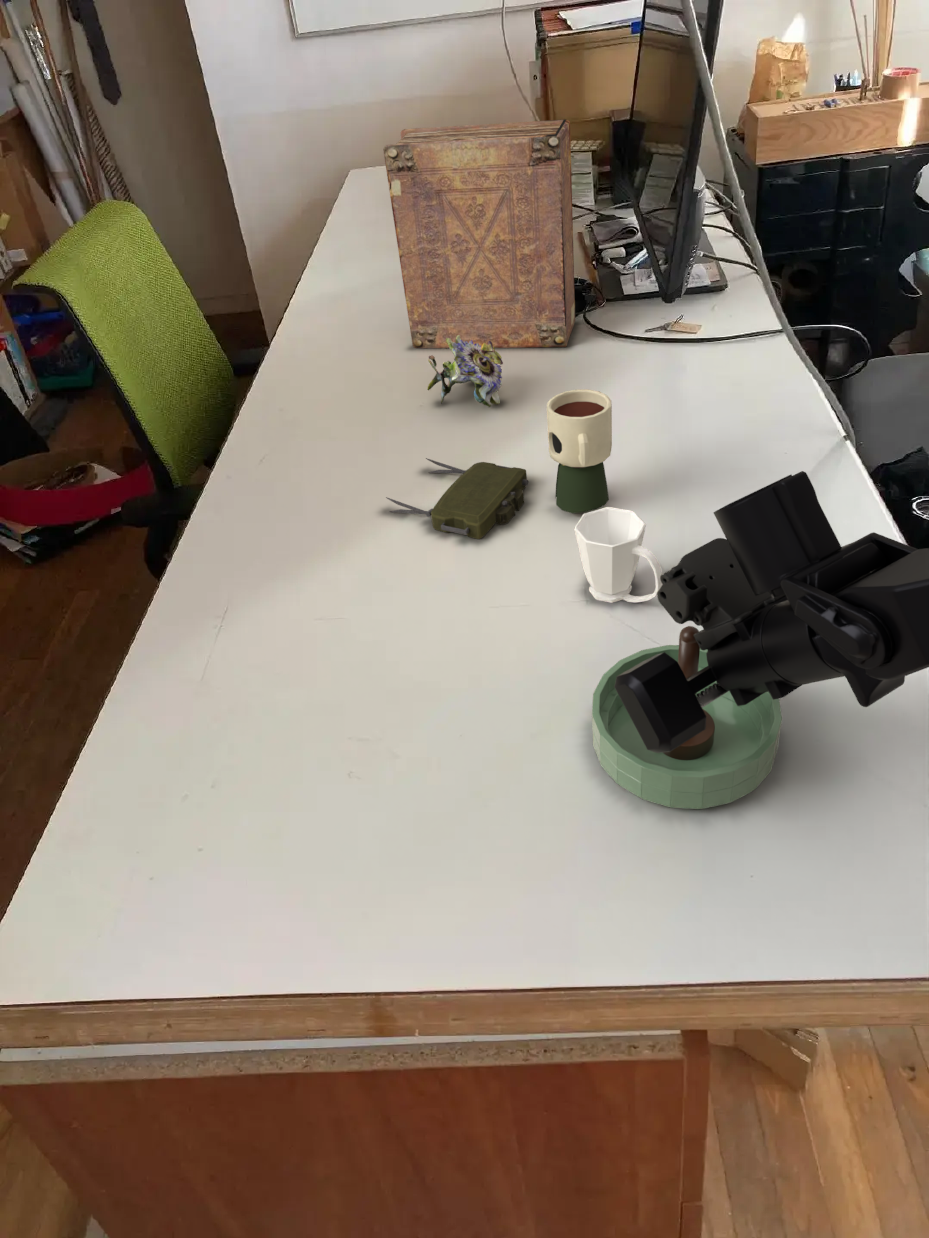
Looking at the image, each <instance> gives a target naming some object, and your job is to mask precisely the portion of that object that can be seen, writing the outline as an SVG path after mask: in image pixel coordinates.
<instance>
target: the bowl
mask: <svg viewBox="0 0 929 1238" xmlns="http://www.w3.org/2000/svg"><path fill="white" fill-rule="evenodd" d="M707 651H708V650H707V649H706V650H701V649H700V652H699V666H698V671H700V670H702V669H703V668H705V667H707V666H708V663H707V656H706V653H707ZM664 652H665V653H666V654H668V655H669V656H670V657H672V658H673V659H674V660H676V661H677V662H678V653H679V644H666V645H662V646H656V647H650V648H646V649H642V650H639V651H637V652H635V653H632V654H630V655H628V656H626V657H624V658H621V659H620V660H618V661H617V662H616V663H615V664H614V665H613V666H611V667H610V668H609V669H608V670H607V671H606V672H604V674H603V675H602V676H601V678H600V680H599V682H598V684H597V685H596V688H594V689H595V690H594V691H593V693H592V706H591V707H592V709H591V717H592V718H591V721H592V723H591V724H592V725H591V727H592V746H593V748H594V752H595V754H596V756H597V757H596V758H597V760H598V762H599V765H600V766H601V768H602V769H603V770H604V771H605V772H606V774H608V776H609V777H610V778H611V779H612V780H613V781H614V782H615V783H616V784H617V785H618V786H620V787H621V788H623V789H625V790H626V791H628V792H629V793H631V794H633V795H634V796H636V797H637V798H639V799H641V800H644V801H647V802H650V803H654V804H657V805H661V806H664V807H667V808H671V809H691V810H705V809H708V808H713V807H718V806H722V805H727V804H731V803H734V802H736V801H737V800H739V799H741V798H743V797H745V796H746V795H749V794H751V793H752V792H754V791H755V790H756V789H757V788H759V786H760V785H761V783H762V782H763V781H765V779H766V778H767V777H768V776H769V774H770V773H772V769H773V766H774V764H775V763H774V762H775V760H776V756H777V753H778V748H779V742H780V735H781V730H782V724H783V723H782V722H783V714H782V710H781V709H782V708H781V704H780V703H781V702H780V698H779V699H774V700H773V698H772V696H771V695H770V693H769V692H765V693H763V694H762V695H760V696H759V697H757V698H756V699H754V700H752V701H751V702H749V703H748V704H746V705H742V706H737V704H736V702H735V701H734V699H733V697H732V695H731V693H730V691H728V692H727V693H725V694H724V695H722V696H720V697H719V698H717V699H716V700H714V701H712V702H711V703H709V704H708V705H706V706H704V707H703V708H702V709H704V710H705V711H707V712H708V713H709V714H710V715H711V717H712V718H713V721H714V724H715V731H714V741H713V746H712V748H711V749H710V751H709V752H708V753H707V754H705V755H704V756H702V757H700V758H697V759H693V760H678V759H674V758H671V757H669V756H667V755H665V754H664V753H655V752H652V751H649V750H647V748H646V746H645V744H644V742H643V740H642V738H641V737H640V735H639V733H638V731H637V729H636V727H635V725H634V723H633V721H632V720H631V718H630V716H629V714H628V712H627V710H626V708H625V706H624V704H623V703H622V701H621V699H620V697H619V695H618V693H617V691H616V689H615V687H614V686H615V681H616V677H617V676H618V675H620V674H622V673H624V672H625V671H627V670H629V669H631V668H632V667H634V666H636V665H637V664H639V663H641V662H643V661H644V660H647V659H649V658H651V657H653V656H655V655H657V654H660V653H664ZM716 682H717V681H715V682H713V683H712V684H714V683H716ZM712 684H710V685H709V686H713V685H712ZM716 684H717V683H716ZM709 686H707V687H705V688H708V689H709ZM705 688H704V689H702V690H700V691H699V692H697V693H701V691H703V690H704V691H705ZM697 693H696V696H697Z"/></svg>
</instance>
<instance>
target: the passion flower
mask: <svg viewBox="0 0 929 1238" xmlns="http://www.w3.org/2000/svg"><path fill="white" fill-rule="evenodd" d="M455 341H456V343H455V342H452V341H451V339H450V338H446V342H447V344H448V346H449V348H448V349H450V351H451V352H452V354H453V356H454V357H453V362H452V361H450V360H447V361H443V362H442V368H443V369H442V371H438V369H437V368H436V367H437V361H436V359H435V356H434V355H433V354H432V355H429V356H428V363H430V366H431V367H432V369H433V370H434V371H435V375H434V377H433V378H432V379H431V381H430V382H429V383H428V385H427V390H428V391H430V390H431V389H432V388H433V387H434V386H435V385H436V384H438V383H439V382H441V391H440V404H441V405H442V404H443V402H444V400H445V397H446V396H447V395H448V394H450V393H451V392H452V388H453V386H455V384H465V383H467V382H471V383H472V384H473V385H474V391H473V398H474V400H475V401H476V402H478V403H479V404H482V405H484V406H486V407H488V408H491V407H492V405H495V406H496V405H497V406H498V405H500V403H501V401H500V396H499V393H498V391H499V390H500V389H501V386H502V385H503V382H502V380H501V379H503V376H502V373H503V372H502V371H503V369H502V365H504V362H503V360H502V356H501V355H500V353H499V352H498V351H496V350H495V349H496V348H494V347H493V345H492V342H491V341H488V345H486V344H485V343H483V344H482V346H480V345H479V344H478V343H477V344H473V342H472V340H471V341H469V343H468V342H466V341H465V342H463V341H462V340H461V339H460V335H458V336H457V337H456V340H455ZM445 379H448V382H447V383H446V381H445Z"/></svg>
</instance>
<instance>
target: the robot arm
mask: <svg viewBox="0 0 929 1238" xmlns="http://www.w3.org/2000/svg"><path fill="white" fill-rule="evenodd" d="M818 499H819V498H818V496H817V493H816V489H815V488H814V485H813V482H812V481H811V479H810V478H809V476H808V474H807V472H806V471H803V470H801V471H799V472H797V473H795V474H789V475H787V476H784V477H782V478H780V479H778V480H776V481H774V482H772V483H769V484H768V485H766V486H764V487H761V488H759V489H758V490H755V491H752V492H750V493H749V494H747V495H745V496H742V497H741V498H738V499H737V500H734V501H732V502H730V503H728V504H726V505H724V506H722V507H720V508H719V509H717V510H715V511H713V512H712V513H713V515H714V518H715V519H716V521H717V523H718V525H719V527H720V529H721V531H722V533H723V535H724V537H725V538H724V537H717V538H714V539H712V540H711V541H708V542H706V543H704V544H703V545H701V546H699V547H697V548H695V549H694V550H692V551H690V552H687V553H686V554H685V555H683V556H682V557H681V559H680V560H679V562H678V564H677V565H675V566H673V567H671V569H670V570H668V571H666V572H665V573H662V575H661V576H660V580H661V583H662V584H663V585H662V586H661V588H660V589H659V591H658V593H657V595H656V597H657V600H658V603H659V604H660V605H661V606H662V608H663V609H664V610H665V611H666V612H667V614H668V615H669V616H670V617H671V619H672V620H673V621H674V622H675V623H677V624H679V625H684V624H685V623H688V622H693V623H694V624H695V626H698V627H699V626H701V627H702V629H701V630H699V632H698V633H696V634H694V635H693V636H694V637H695V639H696V641H697V643H698V645H699V647H700V649H701V650H706V649H707V650H708V651H707V653H706V656H707V663H708V666H707V667H705V668H703V669H702V670H700V671H698V672H697V673H695V674H693V675H692V676H690V677H688V678H687V679H686V677H685V675H684V673H683V671H682V670H681V668H680V666H679V664H678V662H677V661H676V660H674V659H673V658H672V657H670V656H669V655H668V654H666V653H665V652H664V653H660V654H657V655H655V656H653V657H651V658H649V659H647V660H644V661H643V662H641V663H639V664H637V665H636V666H634V667H632V668H631V669H629V670H627V671H625V672H624V673H622V674H620V675H618V676H617V677H616V681H615V686H614V687H615V689H616V691H617V693H618V695H619V697H620V699H621V701H622V703H623V704H624V706H625V708H626V710H627V712H628V714H629V716H630V718H631V720H632V721H633V723H634V725H635V727H636V729H637V731H638V733H639V735H640V737H641V738H642V740H643V742H644V744H645V746H646V748H647V750H649V751H652V752H655V753H662V752H670V751H672V750H674V749H675V748H677V747H678V746H680V745H681V744H683V743H685V742H686V741H688V740H689V739H691V738H692V737H694V736H696V735H697V734H699V733H700V732H702V731H703V730H705V728H706V715H705V713H704V711H703V709H702V708H703V707H704V706H706V705H708V704H709V703H711V702H712V701H714V700H716V699H717V698H719V697H720V696H722V695H724V694H725V693H727V692H728V691H730V693H731V695H732V697H733V699H734V701H735V702H736V704H737V706H742V705H746V704H748V703H749V702H751V701H752V700H754V699H756V698H757V697H759V696H760V695H762V694H763V693H765V692H769V693H770V695H771V696H772V698H773V700H774V699H779V700H780V699H784V698H785V697H786V696H788V695H790V694H791V693H792V692H794V691H796V690H797V689H799V688H801V687H802V686H803V685H804V686H805V685H808V684H813V683H818V682H823V681H829V680H833V679H838V678H843V677H845V679H846V681H847V683H848V684H849V686H850V689H851V690H852V693H853V695H854V697H855V698H856V700H857V702H858V704H859V705H860V706H861V707H863V708H867V707H870V706H872V705H873V704H875V703H876V702H878V701H879V700H881V699H882V698H884V697H886V696H887V695H889V694H891V693H892V692H893V691H895V690H896V689H898V688H900V687H901V686H903V685H904V684H905V679H906V677H907V676H909V675H912V674H914V673H917V672H919V671H922V670H925V669H927V668H929V547H926V548H919V549H918V548H916V547H913V546H911V545H908V544H906V543H902V542H900V541H897V540H895V539H892V538H890V537H887V536H884V535H882V534H879V533H876V532H869V533H868V534H866V535H865V536H862V537H860V538H858V539H856V540H855V541H852V542H850V543H847V544H845V545H841V543H840V542H839V539H838V537H837V536H836V533H835V531H834V530H833V527H832V525H831V523H830V521H829V519H828V518H827V516H826V514H825V512H824V510H823V508H822V506H821V504H820V502H819V500H818ZM715 681H717V682H716V683H717V684H716V683H714V684H712V683H713V682H715ZM710 684H712V685H713V686H709V685H710ZM707 686H709V689H708V688H705V687H707ZM704 688H705V691H704V690H703V691H701V693H697V692H699V691H700V690H702V689H704ZM695 693H697V696H696V695H695Z"/></svg>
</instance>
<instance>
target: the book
mask: <svg viewBox="0 0 929 1238" xmlns="http://www.w3.org/2000/svg"><path fill="white" fill-rule="evenodd" d="M571 140H572V139H571V121H570V120H569V119H565V118H564V119H552V120H550V119H549V120H533V121H519V122H517V121H516V122H501V123H500V122H499V123H485V124H467V125H466V124H465V125H451V126H449V125H448V126H433V127H416V128H404V129H402V130H401V131H400V140H398V142H396V144H395V143H393V144H385V145H384V146H383V156H384V157H383V158H384V164H385V169H386V171H385V172H386V177H387V183H388V184H387V185H388V190H389V198H390V204H391V210H392V217H393V223H394V230H395V231H394V232H395V236H396V245H397V250H398V257H399V258H398V259H399V265H400V271H401V277H402V284H403V290H404V297H405V304H406V311H407V317H408V324H409V330H410V337H411V338H410V339H411V344H412V347H413V348H414V349H450V348H449V346H448V344H447V342H446V338H450V339H451V341H452V342H455V343H456V341H455V340H456V337H457V336H458V335H460V339H461V340H462V341H463V342H465V341H466V342H468V343H469V341H471V340H472V342H473V344H477V343H478V344H479V345H480V346H482V344H483V343H485V344H486V345H488V341H491V342H492V345H493V347H494V349H497V348H505V349H506V348H507V349H509V348H566V347H567V345H568V343H569V340H570V337H571V334H572V331H573V329H574V326H575V323H576V300H575V298H576V297H575V263H574V262H575V258H574V257H575V256H574V224H573V223H574V221H573V220H574V218H573V217H574V216H573V184H572V145H571V144H572V143H571Z"/></svg>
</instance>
